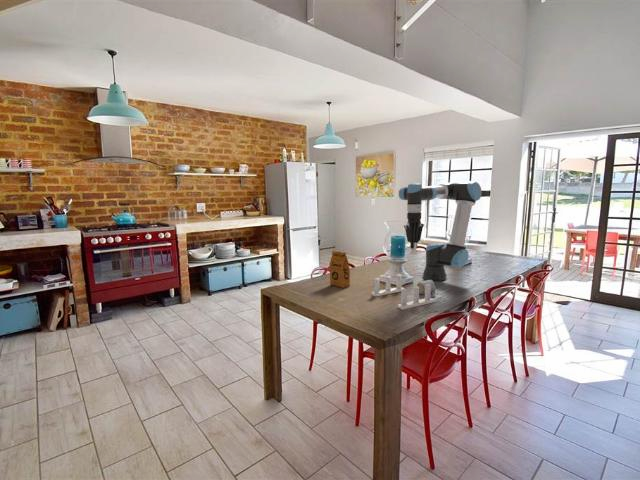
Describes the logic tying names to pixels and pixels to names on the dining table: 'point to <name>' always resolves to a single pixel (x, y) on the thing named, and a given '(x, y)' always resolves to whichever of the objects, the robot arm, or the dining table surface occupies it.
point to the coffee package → (339, 270)
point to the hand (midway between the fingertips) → (413, 253)
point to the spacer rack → (403, 293)
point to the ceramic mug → (422, 287)
